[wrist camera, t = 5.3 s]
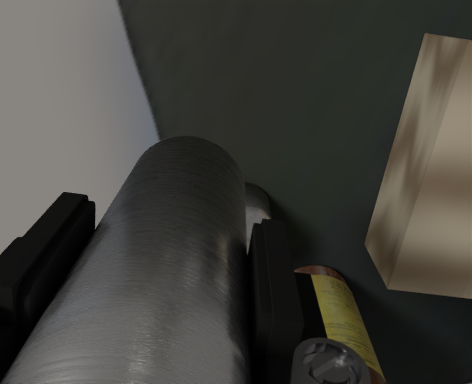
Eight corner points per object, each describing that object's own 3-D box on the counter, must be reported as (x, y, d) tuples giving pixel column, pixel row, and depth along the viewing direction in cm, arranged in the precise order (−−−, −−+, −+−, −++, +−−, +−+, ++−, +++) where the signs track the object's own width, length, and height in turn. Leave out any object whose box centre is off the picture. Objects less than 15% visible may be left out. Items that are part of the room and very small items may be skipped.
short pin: (217, 182, 33) (213, 214, 29) (270, 182, 33) (275, 214, 29) (218, 228, 35) (214, 265, 30) (268, 228, 35) (272, 265, 30)
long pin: (133, 127, 15) (-189, 527, 4) (253, 144, 15) (296, 571, 4) (127, 233, 16) (-109, 735, 5) (236, 247, 16) (232, 757, 5)
